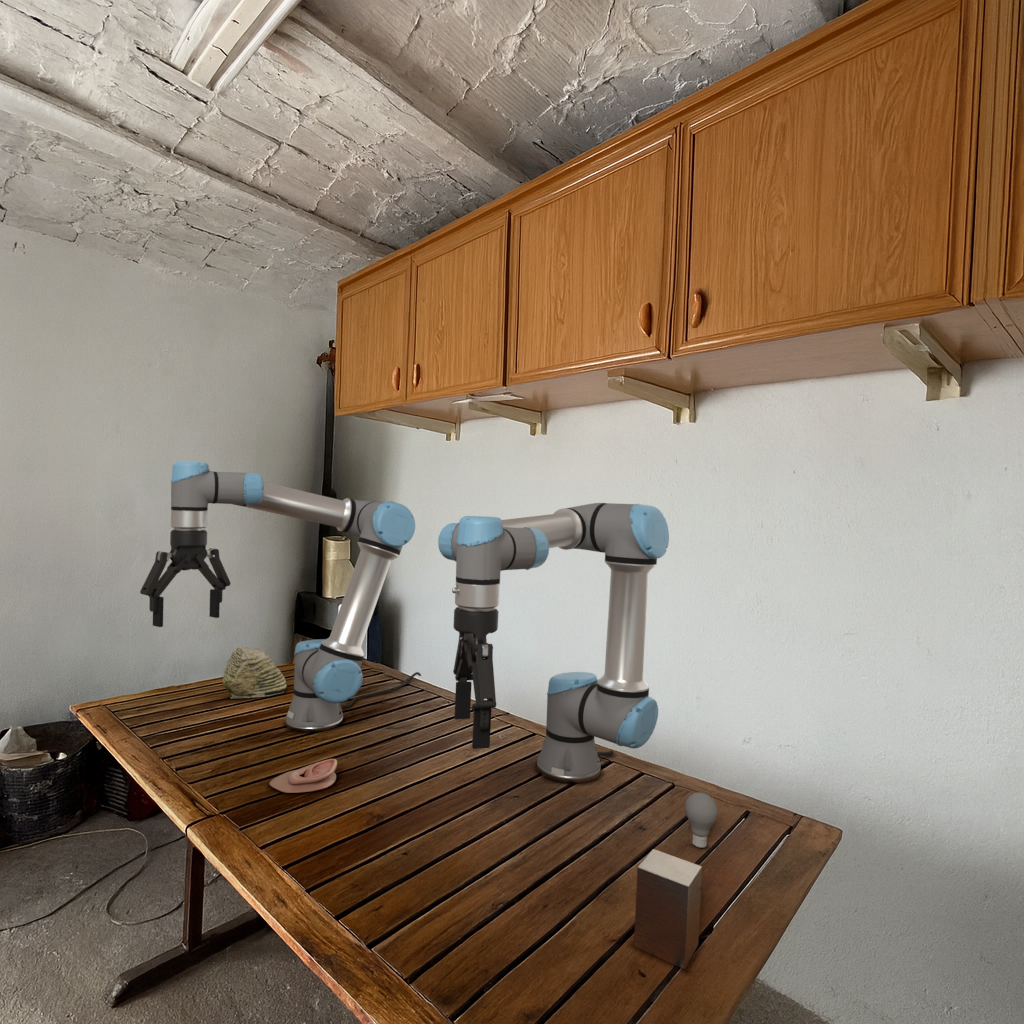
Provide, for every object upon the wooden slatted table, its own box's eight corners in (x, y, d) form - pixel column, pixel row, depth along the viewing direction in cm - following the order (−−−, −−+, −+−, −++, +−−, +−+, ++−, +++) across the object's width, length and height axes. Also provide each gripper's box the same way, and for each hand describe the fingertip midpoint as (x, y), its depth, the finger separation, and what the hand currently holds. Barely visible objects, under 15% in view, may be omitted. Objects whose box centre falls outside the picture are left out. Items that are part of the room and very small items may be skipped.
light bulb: (678, 837, 123) (681, 786, 123) (708, 837, 124) (711, 787, 124) (689, 855, 117) (692, 801, 117) (721, 854, 118) (723, 801, 118)
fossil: (218, 695, 195) (220, 647, 195) (278, 685, 208) (279, 640, 207) (228, 703, 189) (230, 653, 188) (289, 692, 201) (290, 645, 201)
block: (649, 924, 98) (653, 848, 97) (698, 945, 93) (702, 866, 93) (633, 946, 93) (637, 866, 92) (684, 969, 88) (688, 886, 88)
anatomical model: (261, 770, 135) (291, 750, 147) (261, 789, 136) (290, 767, 147) (318, 779, 133) (344, 757, 144) (318, 797, 133) (343, 775, 144)
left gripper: (227, 526, 157) (225, 611, 158) (123, 529, 136) (121, 627, 137) (247, 528, 154) (245, 615, 154) (143, 531, 132) (141, 632, 133)
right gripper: (440, 595, 118) (435, 709, 118) (472, 622, 94) (465, 763, 94) (479, 595, 120) (474, 707, 120) (520, 621, 96) (513, 759, 97)
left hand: (187, 621), depth 145 cm, fingers open, 13 cm apart
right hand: (470, 732), depth 107 cm, fingers open, 13 cm apart
